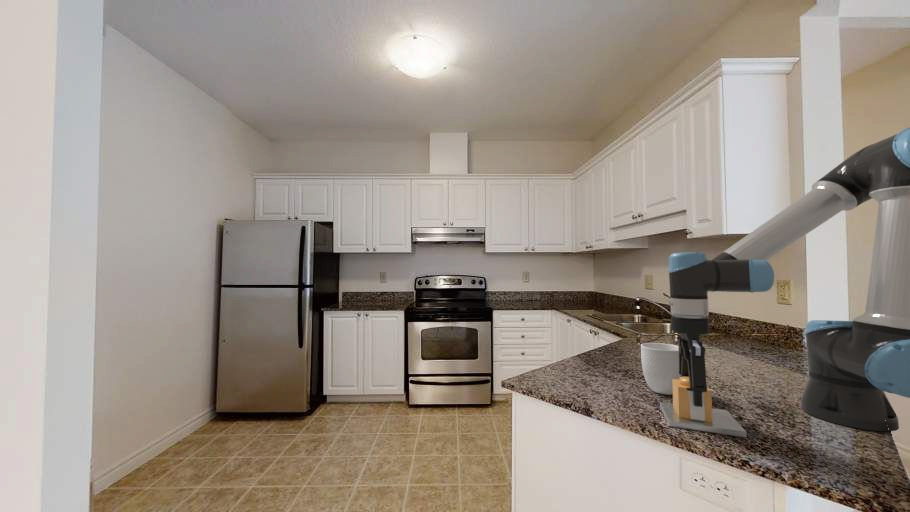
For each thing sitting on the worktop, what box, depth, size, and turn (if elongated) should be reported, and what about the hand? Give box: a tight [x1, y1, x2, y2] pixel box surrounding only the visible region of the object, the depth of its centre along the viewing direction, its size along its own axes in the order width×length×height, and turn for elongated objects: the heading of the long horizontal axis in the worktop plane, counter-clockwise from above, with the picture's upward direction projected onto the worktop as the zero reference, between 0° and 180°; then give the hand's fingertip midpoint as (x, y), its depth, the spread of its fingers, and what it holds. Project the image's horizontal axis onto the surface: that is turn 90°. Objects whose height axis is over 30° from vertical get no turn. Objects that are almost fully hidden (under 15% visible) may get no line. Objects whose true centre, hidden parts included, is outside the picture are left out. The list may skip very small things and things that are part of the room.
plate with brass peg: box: [659, 401, 748, 438], centre depth 79 cm, size 14×12×7 cm
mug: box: [640, 342, 681, 396], centre depth 97 cm, size 15×11×13 cm
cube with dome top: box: [672, 376, 713, 422], centre depth 79 cm, size 6×6×8 cm
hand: (693, 413), depth 79 cm, fingers closed on cube with dome top, 6 cm apart
